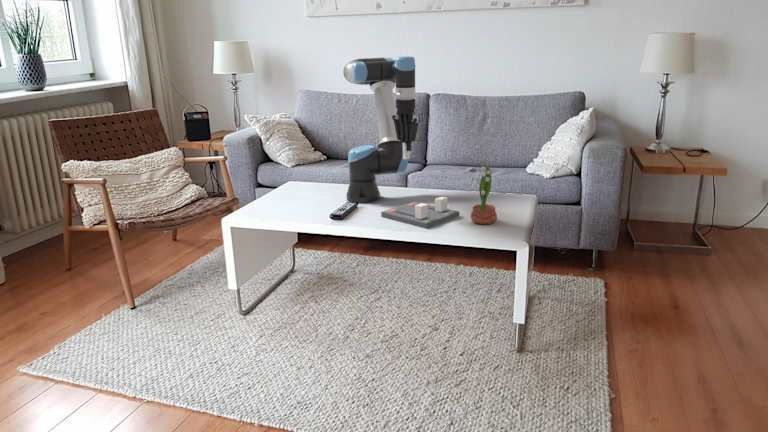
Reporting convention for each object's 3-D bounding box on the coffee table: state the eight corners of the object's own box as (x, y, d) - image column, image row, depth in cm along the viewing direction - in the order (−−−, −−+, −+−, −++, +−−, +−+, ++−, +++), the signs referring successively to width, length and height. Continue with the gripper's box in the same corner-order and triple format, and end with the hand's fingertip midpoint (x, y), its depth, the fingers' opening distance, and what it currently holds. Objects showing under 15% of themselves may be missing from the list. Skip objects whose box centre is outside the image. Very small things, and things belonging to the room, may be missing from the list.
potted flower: (496, 227, 216) (498, 161, 208) (469, 226, 218) (470, 161, 210) (497, 218, 227) (498, 155, 220) (471, 217, 229) (471, 154, 222)
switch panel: (381, 216, 234) (381, 211, 233) (414, 205, 247) (414, 201, 247) (426, 228, 217) (426, 223, 217) (459, 216, 231) (459, 211, 230)
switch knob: (435, 210, 231) (435, 198, 230) (441, 208, 234) (441, 196, 233) (441, 212, 229) (440, 199, 228) (447, 209, 232) (447, 197, 230)
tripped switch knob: (415, 217, 223) (414, 205, 222) (422, 215, 226) (421, 203, 224) (421, 219, 221) (420, 206, 220) (427, 216, 224) (427, 204, 222)
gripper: (386, 98, 224) (388, 157, 232) (411, 100, 215) (412, 162, 223) (399, 96, 229) (400, 154, 237) (424, 98, 220) (425, 159, 228)
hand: (406, 158), depth 230 cm, fingers closed
